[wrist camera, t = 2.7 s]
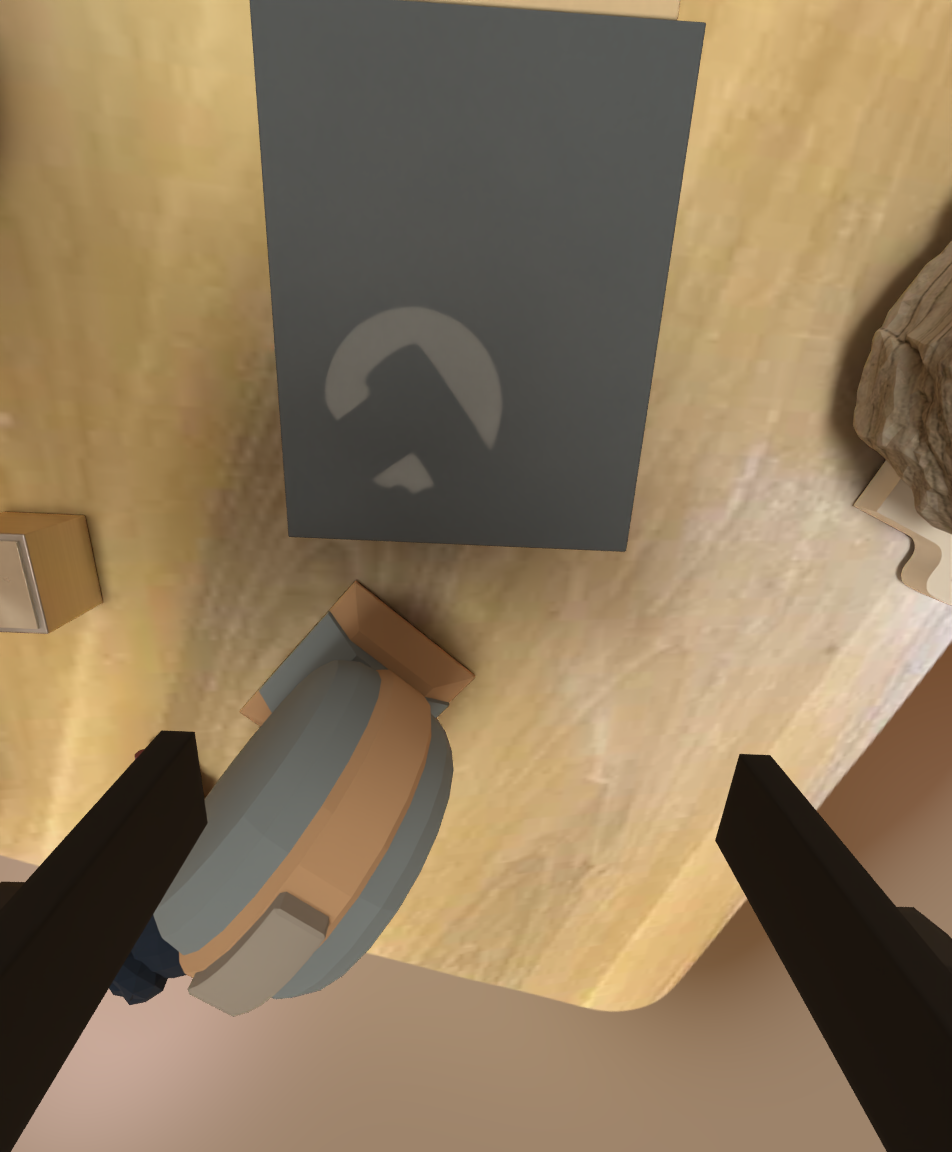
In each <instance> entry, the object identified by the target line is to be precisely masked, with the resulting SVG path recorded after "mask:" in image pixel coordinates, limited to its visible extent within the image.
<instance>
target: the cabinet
mask: <svg viewBox="0 0 952 1152" xmlns="http://www.w3.org/2000/svg"><path fill="white" fill-rule="evenodd" d="M250 12H251V26H252V40H253V53H254V67H255V81H256V95H257V108H258V122H259V136H260V150H261V163H262V177H263V191H264V205H265V218H266V232H267V246H268V260H269V273H270V287H271V301H272V315H273V328H274V342H275V356H276V370H277V383H278V397H279V411H280V424H281V438H282V452H283V466H284V479H285V493H286V507H287V521H288V534H289V537H304V538H327V539H349V540H372V541H395V542H417V543H440V544H462V545H485V546H507V547H530V548H552V549H575V550H597V551H620V552H625V551H626V548H627V541H628V534H629V528H630V521H631V515H632V508H633V502H634V495H635V488H636V482H637V475H638V469H639V462H640V455H641V449H642V442H643V436H644V429H645V422H646V416H647V409H648V403H649V396H650V389H651V383H652V376H653V370H654V363H655V356H656V350H657V343H658V337H659V330H660V323H661V317H662V310H663V304H664V297H665V290H666V284H667V277H668V271H669V264H670V257H671V251H672V244H673V238H674V231H675V225H676V218H677V211H678V205H679V198H680V192H681V185H682V178H683V172H684V165H685V159H686V152H687V145H688V139H689V132H690V126H691V119H692V112H693V106H694V99H695V93H696V86H697V79H698V73H699V66H700V60H701V53H702V46H703V40H704V33H705V27H706V23H704V22H690V21H677V20H663V19H649V18H636V17H622V16H608V15H595V14H581V13H567V12H553V11H540V10H526V9H512V8H499V7H485V6H471V5H458V4H444V3H430V2H417V1H403V0H250Z"/></svg>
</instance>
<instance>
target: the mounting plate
mask: <svg viewBox="0 0 952 1152" xmlns="http://www.w3.org/2000/svg"><path fill="white" fill-rule="evenodd" d="M853 506H854V507H856V508H858V509H860V510H862V511H864V512H866V513H868V514H869V515H871V516H873V517H875V518H877V519H879V520H881V521H882V522H884V523H886V524H888V525H890V526H892V527H894V528H896V529H897V530H899V531H901V532H903V533H905V534H907V535H909V536H910V537H911V538H912V539H913V541H914V543H915V550H914V553H913V555H912V556H911V558H910V559H909V560H908V562H907V563H906V564H905V566H904V567H903V569H902V572H901V578H902V581H903V583H904V584H905V585H906V586H908V587H910V588H912V589H914V590H916V591H918V592H920V593H922V594H924V595H926V596H929V597H931V598H934V599H936V600H938V601H941V602H943V603H946V604H948V605H951V606H952V534H949V533H947V532H944V531H942V530H939V529H937V528H935V527H932V526H931V525H930V524H929V523H928V522H927V521H926V520H925V519H923V518H922V517H921V516H920V515H919V514H918V513H917V511H916V509H915V504H914V496H913V492H912V489H911V488H910V487H909V486H908V485H907V484H906V483H905V482H904V481H903V480H902V479H901V478H900V477H899V476H898V475H897V473H896V471H895V470H894V469H893V467H892V466H891V465H890V464H889V463H888V462H887V461H885V462H884V464H883V465H882V466H881V468H880V469H879V471H878V472H877V473H876V475H875V476H874V477H873V479H872V480H871V482H870V483H869V484H868V486H867V487H866V489H865V490H864V491H863V493H862V494H861V496H860V497H859V498H858V500H857V501H856V502H855V504H854V505H853Z"/></svg>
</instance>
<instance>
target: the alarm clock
mask: <svg viewBox="0 0 952 1152" xmlns="http://www.w3.org/2000/svg"><path fill="white" fill-rule="evenodd" d="M474 678H475V675H474V674H472V673H471V672H470V671H469V670H467V669H466V668H465V667H464V666H462V665H461V664H460V663H459V662H457V661H456V660H455V659H454V658H452V657H451V656H450V655H449V654H447V653H446V652H445V651H444V650H442V649H441V648H440V647H439V646H437V645H436V644H435V643H434V642H432V641H431V640H430V639H429V638H427V637H426V636H425V635H424V634H422V633H421V632H420V631H419V630H417V629H416V628H415V627H414V626H412V625H411V624H410V623H409V622H407V621H406V620H405V619H403V618H402V617H401V616H400V615H398V614H397V613H396V612H395V611H393V610H392V609H391V608H390V607H388V606H387V605H386V604H385V603H383V602H382V601H381V600H380V599H378V598H377V597H376V596H375V595H373V594H372V593H371V592H370V591H368V590H367V589H366V588H365V587H363V586H362V585H361V584H360V583H358V582H357V581H355V582H354V583H353V584H352V585H351V586H350V587H349V589H348V590H347V591H346V592H345V593H344V594H343V595H342V596H341V598H340V599H339V600H338V601H337V602H336V603H335V604H334V605H333V607H332V608H331V609H330V610H329V611H328V612H327V613H326V614H325V616H324V617H323V618H322V619H321V620H320V621H319V622H318V623H317V625H316V626H315V627H314V628H313V629H312V630H311V631H310V632H309V634H308V635H307V636H306V637H305V638H304V639H303V640H302V641H301V643H300V644H299V645H298V646H297V647H296V648H295V649H294V650H293V652H292V653H291V654H290V655H289V656H288V657H287V658H286V659H285V661H284V662H283V663H282V664H281V665H280V666H279V667H278V668H277V670H276V671H275V672H274V673H273V674H272V675H271V676H270V677H269V679H268V680H267V681H266V682H265V683H264V684H263V685H262V686H261V688H260V689H259V690H258V691H257V692H256V693H255V694H254V695H253V697H252V698H251V699H250V700H249V701H248V702H247V703H246V704H245V706H244V707H243V708H242V709H241V710H240V711H239V712H240V713H242V714H243V715H244V716H246V717H247V718H249V719H250V720H252V721H253V722H255V723H256V724H258V725H259V726H261V727H260V728H259V729H258V730H257V732H256V733H255V734H254V735H253V736H252V738H251V739H250V740H249V741H248V743H247V744H246V745H245V746H244V748H243V749H242V750H241V751H240V753H239V754H238V755H237V757H236V758H235V759H234V760H233V762H232V763H231V764H230V766H229V767H228V768H227V770H226V771H225V772H224V774H223V775H222V776H221V778H220V779H219V780H218V782H217V783H216V784H215V786H214V787H213V788H212V790H211V791H210V793H209V794H208V795H207V797H206V798H205V807H206V814H207V821H208V824H207V825H206V827H205V829H204V830H203V832H202V834H201V835H200V837H199V839H198V840H197V842H196V844H195V845H194V847H193V849H192V850H191V852H190V854H189V855H188V857H187V859H186V860H185V862H184V864H183V865H182V867H181V869H180V870H179V872H178V874H177V875H176V877H175V879H174V880H173V882H172V884H171V885H170V887H169V889H168V890H167V892H166V894H165V895H164V897H163V899H162V900H161V902H160V904H159V905H158V907H157V909H156V910H155V912H154V914H153V915H154V918H155V921H156V924H157V927H158V930H159V932H160V934H161V937H162V938H163V939H164V940H165V941H166V942H168V943H169V944H170V945H171V946H173V947H174V948H175V949H176V950H178V951H179V963H180V965H181V967H182V969H183V971H184V973H185V974H186V975H188V976H191V977H192V978H193V979H192V982H191V984H190V986H189V988H188V991H189V994H190V995H192V996H194V997H196V998H198V999H200V1000H202V1001H203V1002H205V1003H207V1004H209V1005H211V1006H213V1007H215V1008H217V1009H219V1010H221V1011H223V1012H225V1013H227V1014H229V1015H231V1016H233V1017H234V1016H238V1015H241V1014H245V1013H248V1012H250V1011H252V1010H254V1009H256V1008H258V1007H259V1006H261V1005H262V1004H264V1003H265V1002H266V1001H268V1000H269V999H270V998H274V999H283V998H292V997H297V996H301V995H304V994H309V993H312V992H316V991H319V990H321V989H323V988H324V987H326V986H328V985H329V984H331V983H332V982H334V981H335V980H337V979H338V978H340V977H342V976H343V975H344V974H345V973H346V972H347V971H348V970H349V969H350V968H351V967H352V966H353V965H354V964H355V963H356V962H357V961H358V960H359V959H360V958H361V957H362V956H363V955H364V954H365V953H366V952H367V951H368V950H369V949H370V948H371V946H372V945H373V944H374V942H375V941H376V940H377V938H378V937H379V935H380V934H381V933H382V931H383V930H384V929H385V927H386V926H387V925H388V923H389V922H390V921H391V919H392V918H393V917H394V915H395V914H396V913H397V911H398V909H399V908H400V906H401V905H402V903H403V901H404V899H405V898H406V896H407V894H408V893H409V891H410V889H411V887H412V886H413V884H414V882H415V881H416V879H417V877H418V875H419V874H420V872H421V870H422V867H423V865H424V863H425V861H426V859H427V856H428V854H429V852H430V850H431V847H432V845H433V843H434V841H435V839H436V836H437V834H438V831H439V828H440V825H441V822H442V819H443V815H444V812H445V809H446V806H447V803H448V800H449V796H450V789H451V782H452V776H453V760H452V750H451V747H450V744H449V741H448V738H447V735H446V732H445V731H444V729H443V727H442V726H441V724H440V723H439V721H438V720H437V719H436V718H437V717H438V716H439V715H440V714H441V713H442V712H443V711H444V710H445V709H446V708H447V707H448V706H449V702H450V701H451V700H452V699H453V698H455V697H456V696H457V695H458V694H459V693H460V692H461V691H462V690H463V689H464V688H465V687H466V686H467V685H468V684H469V683H470V682H471V681H472V680H473V679H474Z"/></svg>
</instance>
